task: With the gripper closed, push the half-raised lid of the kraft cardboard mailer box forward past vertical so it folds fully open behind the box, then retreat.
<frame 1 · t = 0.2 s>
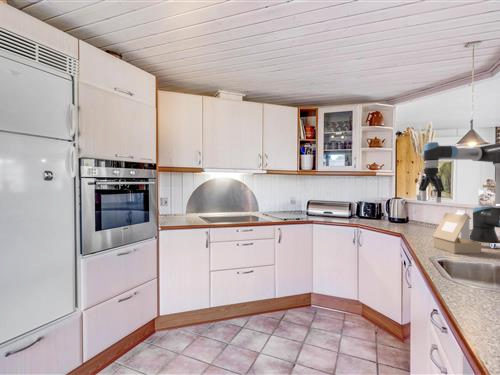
hand: (430, 201, 177), 28 cm above the counter, fingers open, 13 cm apart
milk: (461, 244, 183), on the counter
lid: (451, 227, 168), point 13 cm above the counter, hinge at 60.0°
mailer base: (456, 250, 168), on the counter
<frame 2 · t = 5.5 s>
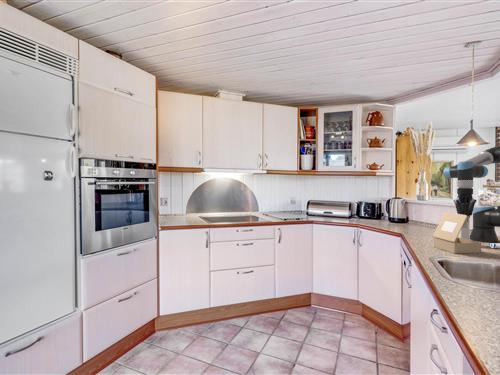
hand: (464, 227, 168), 13 cm above the counter, fingers closed
lid: (451, 227, 168), point 13 cm above the counter, hinge at 62.8°, touching gripper
everything else where it was.
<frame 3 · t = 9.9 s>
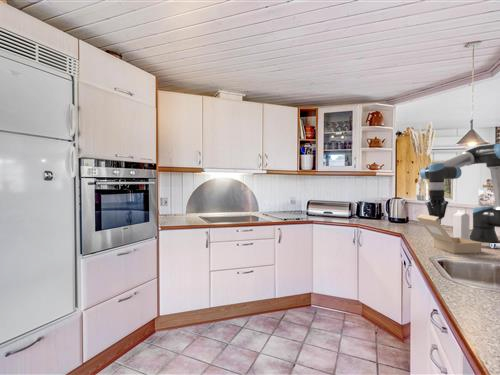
hand: (437, 229, 167), 12 cm above the counter, fingers closed
lid: (436, 228, 167), point 13 cm above the counter, hinge at 131.0°, touching gripper
everything else where it was.
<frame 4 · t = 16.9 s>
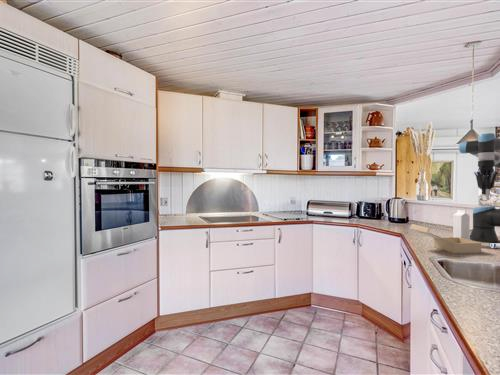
hand: (485, 199, 169), 29 cm above the counter, fingers closed
lid: (431, 233, 167), point 10 cm above the counter, hinge at 159.3°
everything else where it was.
at the end: lid at +159° (first picture: +60°) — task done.
